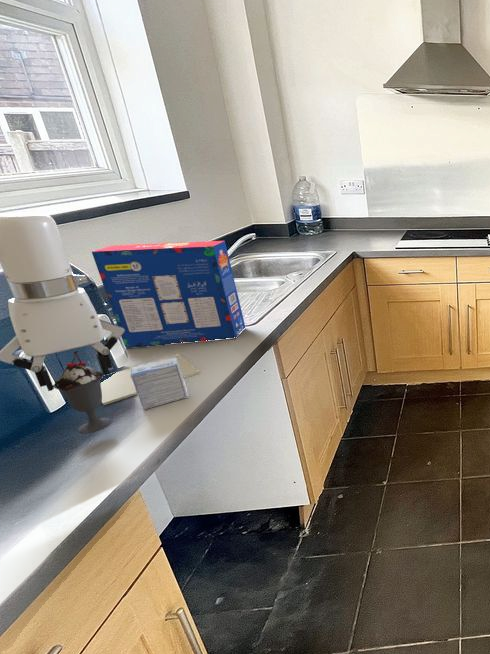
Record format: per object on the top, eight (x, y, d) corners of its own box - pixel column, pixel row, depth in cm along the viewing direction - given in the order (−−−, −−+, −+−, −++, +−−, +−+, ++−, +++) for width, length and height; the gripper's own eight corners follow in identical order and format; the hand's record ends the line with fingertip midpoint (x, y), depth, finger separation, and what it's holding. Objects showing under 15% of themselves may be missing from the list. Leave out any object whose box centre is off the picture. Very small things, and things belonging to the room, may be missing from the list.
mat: (103, 405, 90) (102, 403, 90) (89, 382, 99) (88, 380, 99) (200, 373, 104) (199, 371, 103) (179, 355, 113) (179, 353, 113)
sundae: (111, 411, 84) (87, 344, 79) (124, 422, 81) (101, 353, 76) (65, 428, 79) (37, 357, 74) (78, 441, 75) (50, 367, 70)
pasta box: (245, 328, 130) (224, 240, 121) (236, 339, 123) (213, 246, 114) (142, 337, 124) (111, 245, 115) (125, 348, 117) (91, 251, 108)
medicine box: (187, 389, 96) (177, 356, 93) (188, 397, 93) (178, 363, 90) (143, 401, 92) (130, 367, 89) (142, 411, 88) (130, 375, 85)
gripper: (108, 273, 79) (134, 357, 85) (-38, 294, 66) (5, 392, 72) (118, 281, 75) (144, 369, 81) (-36, 305, 62) (9, 408, 68)
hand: (78, 379), depth 76 cm, fingers closed on sundae, 6 cm apart
